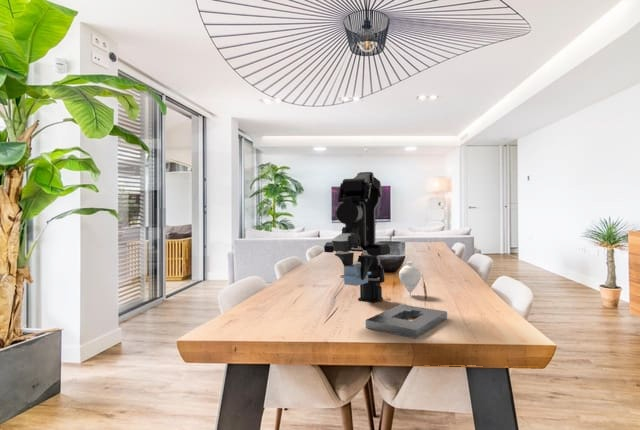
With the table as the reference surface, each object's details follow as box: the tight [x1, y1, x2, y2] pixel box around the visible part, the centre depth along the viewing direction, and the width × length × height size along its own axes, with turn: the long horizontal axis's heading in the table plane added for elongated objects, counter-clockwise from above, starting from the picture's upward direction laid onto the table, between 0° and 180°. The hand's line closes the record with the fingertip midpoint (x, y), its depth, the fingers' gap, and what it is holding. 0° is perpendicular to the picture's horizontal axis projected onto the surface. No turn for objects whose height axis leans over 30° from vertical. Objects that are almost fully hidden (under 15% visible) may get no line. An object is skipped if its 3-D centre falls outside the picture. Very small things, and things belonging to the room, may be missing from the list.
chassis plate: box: [365, 303, 448, 339], centre depth 99 cm, size 20×14×2 cm
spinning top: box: [398, 260, 422, 296], centre depth 132 cm, size 8×8×12 cm
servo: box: [340, 261, 371, 287], centre depth 103 cm, size 4×10×6 cm, turn 141°
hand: (356, 278), depth 103 cm, fingers closed on servo, 4 cm apart
